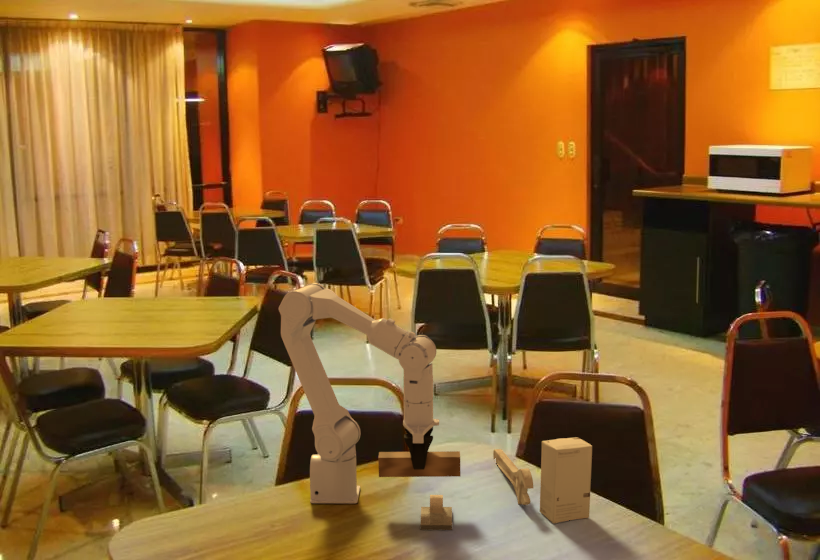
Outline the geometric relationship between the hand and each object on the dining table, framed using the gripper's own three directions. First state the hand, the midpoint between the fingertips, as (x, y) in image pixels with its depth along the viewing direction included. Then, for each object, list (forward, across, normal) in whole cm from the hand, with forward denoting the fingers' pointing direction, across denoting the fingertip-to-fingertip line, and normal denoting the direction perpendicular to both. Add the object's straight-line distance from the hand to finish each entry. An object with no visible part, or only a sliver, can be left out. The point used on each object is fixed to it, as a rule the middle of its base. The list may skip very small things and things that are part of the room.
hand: (419, 465), depth 177 cm
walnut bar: (+2, 0, 0) cm, 2 cm away
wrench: (+10, +11, -19) cm, 24 cm away
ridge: (+9, -6, -3) cm, 11 cm away
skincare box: (+9, -3, -28) cm, 30 cm away
